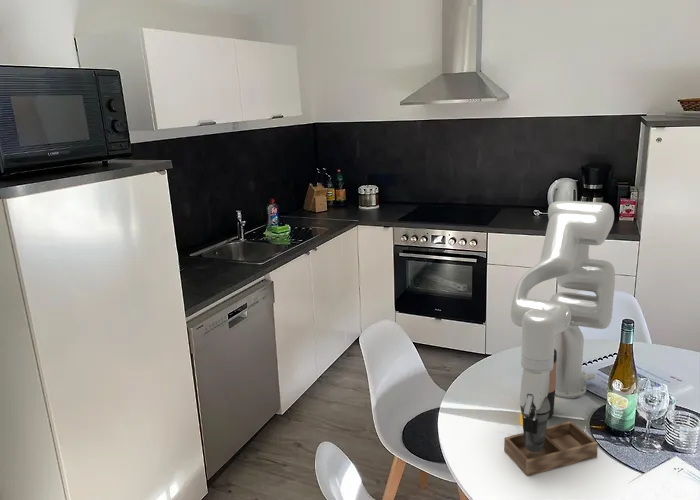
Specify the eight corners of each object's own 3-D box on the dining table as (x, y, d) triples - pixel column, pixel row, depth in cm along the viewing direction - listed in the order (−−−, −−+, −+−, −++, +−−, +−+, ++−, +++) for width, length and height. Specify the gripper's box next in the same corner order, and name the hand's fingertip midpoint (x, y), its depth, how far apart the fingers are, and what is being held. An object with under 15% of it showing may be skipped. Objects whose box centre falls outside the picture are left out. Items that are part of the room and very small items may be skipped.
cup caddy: (569, 434, 152) (570, 421, 151) (596, 457, 142) (598, 443, 141) (504, 451, 147) (504, 437, 146) (527, 476, 137) (527, 461, 136)
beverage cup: (550, 456, 138) (554, 384, 133) (520, 454, 140) (522, 383, 134) (546, 439, 145) (549, 370, 140) (517, 437, 147) (519, 368, 141)
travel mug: (540, 423, 158) (543, 359, 152) (521, 410, 164) (522, 349, 159) (560, 415, 161) (563, 352, 156) (540, 403, 168) (542, 342, 162)
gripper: (531, 343, 145) (529, 403, 150) (510, 372, 131) (509, 438, 136) (561, 349, 141) (558, 411, 145) (543, 379, 127) (540, 447, 132)
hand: (534, 423), depth 141 cm, fingers closed on beverage cup, 6 cm apart
